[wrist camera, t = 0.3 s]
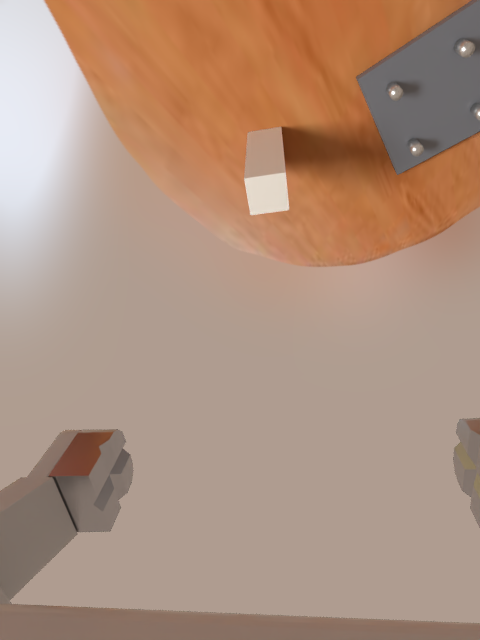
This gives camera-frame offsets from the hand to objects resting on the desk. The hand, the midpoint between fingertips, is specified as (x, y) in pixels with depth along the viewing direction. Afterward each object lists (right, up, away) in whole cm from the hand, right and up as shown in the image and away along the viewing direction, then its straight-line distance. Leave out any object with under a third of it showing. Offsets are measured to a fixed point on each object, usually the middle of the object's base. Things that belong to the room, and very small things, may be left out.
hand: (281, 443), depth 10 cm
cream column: (+3, +27, +45) cm, 53 cm away
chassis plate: (+23, +31, +40) cm, 56 cm away
